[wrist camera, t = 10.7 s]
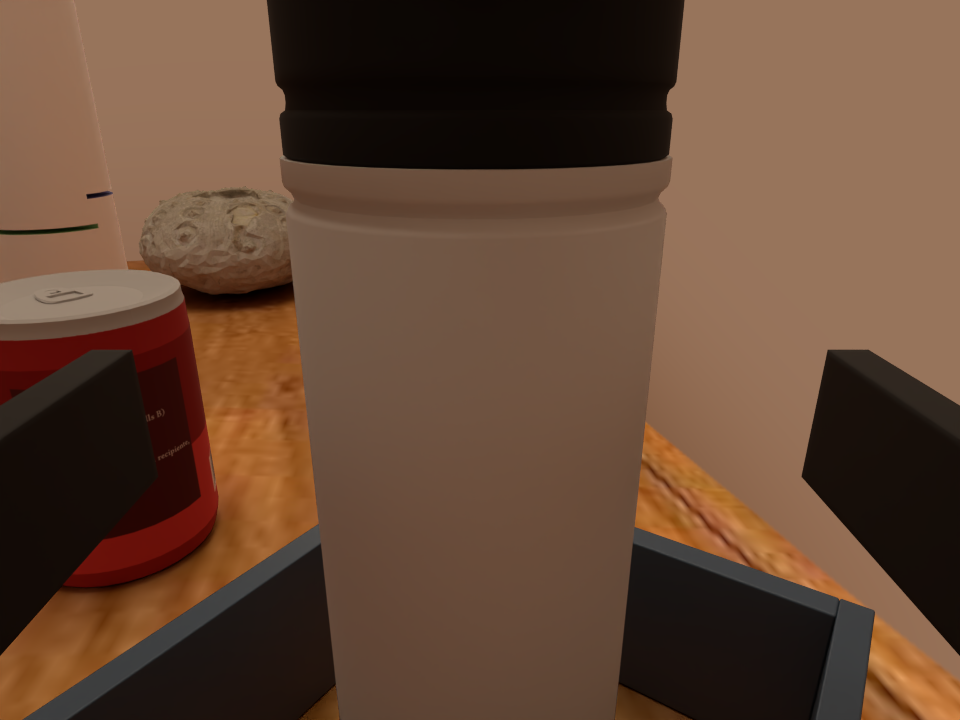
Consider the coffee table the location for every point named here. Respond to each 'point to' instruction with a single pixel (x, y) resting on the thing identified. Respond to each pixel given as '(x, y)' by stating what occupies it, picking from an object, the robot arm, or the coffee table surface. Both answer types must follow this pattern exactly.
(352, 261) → the travel mug
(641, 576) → the frame
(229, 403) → the coffee table surface
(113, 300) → the canned food
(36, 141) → the cylindrical container
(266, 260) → the decorative shell
